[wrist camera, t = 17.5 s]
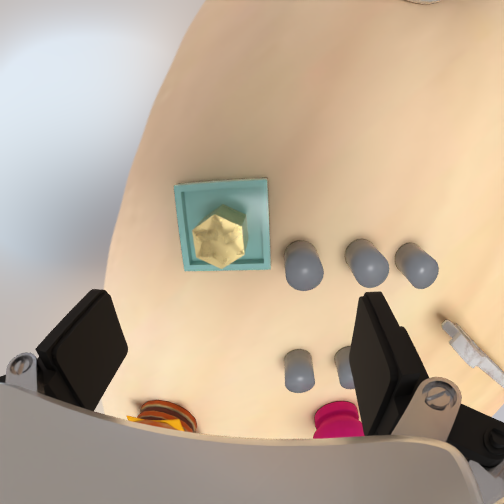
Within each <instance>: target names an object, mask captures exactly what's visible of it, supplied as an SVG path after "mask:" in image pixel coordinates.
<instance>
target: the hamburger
mask: <svg viewBox="0 0 504 504" xmlns="http://www.w3.org/2000/svg"><path fill="white" fill-rule="evenodd" d="M127 418H128V421H132V422H137V423H141V424H146V425H151V426H156V427H161V428H167V429H172V430H178V431H185V432H192V433H194V432H195V430H196V428H197V424H196V421H195V418H194V417H193V416H192V415H191V414H190V413H189V412H188V411H187V410H185V409H184V408H182V407H180V406H178V405H176V404H173V403H170V402H167V401H160V400H154V401H148V402H147V403H145V404H144V405H143V406H142V408H141V413H140V415H138V417H137V418H135V417H131V416H127Z"/></svg>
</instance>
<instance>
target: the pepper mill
mask: <svg viewBox="0 0 504 504" xmlns="http://www.w3.org/2000/svg"><path fill="white" fill-rule="evenodd" d="M315 427H316V429H317V430H316V432H315V434H314V436H313V439H324V438H342V437H359V436H365V435H364V432H363V426H362V423H361V422H360V421H359V415H358V411H357V408H356V406H355V405H354V404H352V403H350V402H346V401H338V402H333V403H330V404H327V405H325V406H323V407H322V408H320V409H319V410H318V411H317V412H316V414H315Z"/></svg>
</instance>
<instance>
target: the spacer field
mask: <svg viewBox="0 0 504 504" xmlns="http://www.w3.org/2000/svg"><path fill="white" fill-rule="evenodd" d="M345 259H346V262H347V264H348V266H349V268H350V269H351V271H352V273H353V275H354V276H355V278H356V280H357V282H358V283H359V284H360V285H362V286H363V287H367V288H373V287H376V286H378V285H380V284H381V283H383V282H384V280H385V279H386V278H387V276H388V273H389V264H388V261H387V260H386V258H385V257H384V256H383V255H382V254H381V253H380V252H379V251H378V250H377V248H376V247H375V246H374V245H373V244H372V243H371V242H370V241H368V240H365V239H359V240H356V241H354V242H352V243H351V244H350V245H349V246H348V248H347V250H346V253H345ZM284 261H285V272H286V279H287V282H288V283H289V285H290V286H291V287H293V288H294V289H297V290H300V291H307V290H311V289H313V288H315V287H316V286H318V285H319V284H320V282H321V281H322V278H323V274H324V271H323V267H322V264H321V262H320V259H319V256H318V254H317V251H316V249H315V247H314V246H313V245H312V244H311V243H309V242H307V241H296V242H293V243H292V244H290V245H289V246H288V247H287V249H286V251H285V254H284ZM395 264H396V266H397V268H398V269H399V270H400V271H401V272H402V274H403V275H404V276H405V277H406V278H407V279H408V280H409V282H410V283H411V284H412V285H413V286H414V287H415V288H418V289H424V288H427V287H429V286H430V285H431V284H432V283H433V282H434V281H435V279H436V278H437V275H438V270H439V268H438V264H437V262H436V261H435V260H434V259H433V258H432V257H431V256H430V255H428V254H427V253H426V252H425V251H424V250H422V249H421V248H420V247H419V246H417V245H416V244H414V243H407V244H404V245H403V246H401V247H400V248H399V250H398V251H397V253H396V256H395ZM350 348H351V346H348V347H344V348H342V349H341V350H339V351H338V352H337V353H336V355H335V363H336V367H337V372H338V376H339V380H340V384H341V386H342V387H343V388H346V389H355V386H354V382H353V377H352V372H351V368H350V364H349V353H350ZM284 362H285V386H286V388H287V389H288V390H289V391H291V392H294V393H302V392H306V391H308V390H310V389H311V388H312V387H313V386H314V384H315V379H314V372H313V364H312V358H311V355H310V353H309V352H307V351H305V350H301V349H297V350H293V351H291V352H289V353H288V354H287V355H286V356H285V359H284Z"/></svg>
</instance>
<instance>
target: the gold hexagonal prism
mask: <svg viewBox="0 0 504 504" xmlns="http://www.w3.org/2000/svg"><path fill="white" fill-rule="evenodd" d="M192 234H193V240H194V247H195V253H196V258H198V259H201V260H203V261H205V262H207V263H209V264H212V265H214V266H216V267H218V268H220V269H223V268H224V267H226V266H228V265H229V264H231V263H232V262H234V261H235V260H237V259H239V258H240V257H242V256H243V255H245V251H246V247H247V243H248V229H247V219H246V214H243V213H241V212H239V211H237V210H235V209H233V208H230V207H228V206H226V205H224V204H222V205H221V206H219V207H218V208H217V209H215V210H214V211H212V212H211V213H210V214H208V215H207V216H205V217H204V218H203V219H202V220H201V221H200V222H199V223H198V224H197V226H196V227H195V228H194V229H193V230H192Z"/></svg>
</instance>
